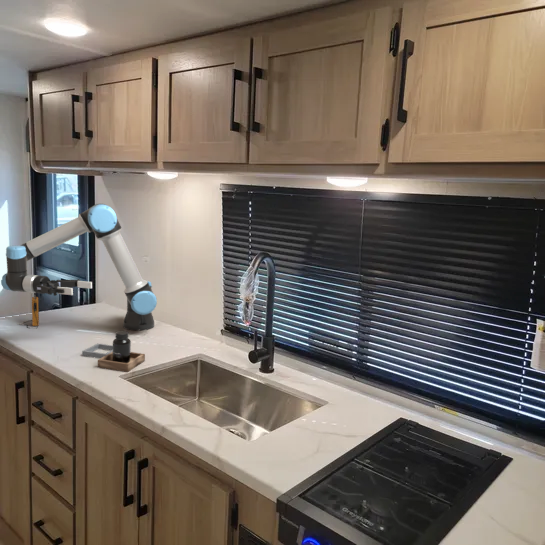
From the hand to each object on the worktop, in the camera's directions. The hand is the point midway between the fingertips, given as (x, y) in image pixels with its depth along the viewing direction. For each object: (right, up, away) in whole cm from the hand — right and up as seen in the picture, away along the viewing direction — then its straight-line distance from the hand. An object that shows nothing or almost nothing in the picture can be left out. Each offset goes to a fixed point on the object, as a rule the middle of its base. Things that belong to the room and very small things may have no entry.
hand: (82, 288), depth 204 cm
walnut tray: (+20, -30, -10) cm, 37 cm away
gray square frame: (+8, -27, +1) cm, 28 cm away
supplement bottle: (+19, -29, -10) cm, 36 cm away
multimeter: (-40, -19, +34) cm, 56 cm away
